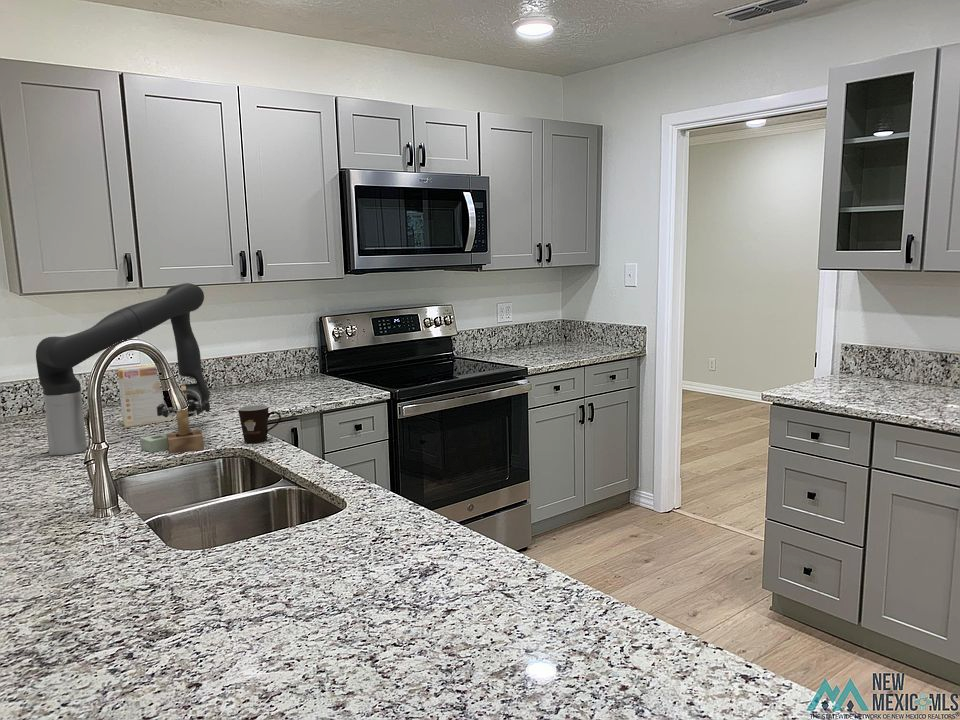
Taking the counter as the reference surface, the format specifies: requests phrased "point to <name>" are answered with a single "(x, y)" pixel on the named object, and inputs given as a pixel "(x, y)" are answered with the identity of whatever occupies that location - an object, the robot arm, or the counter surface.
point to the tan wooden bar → (183, 419)
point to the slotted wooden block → (185, 442)
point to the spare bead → (154, 443)
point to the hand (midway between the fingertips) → (181, 412)
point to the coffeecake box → (140, 395)
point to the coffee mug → (255, 423)
